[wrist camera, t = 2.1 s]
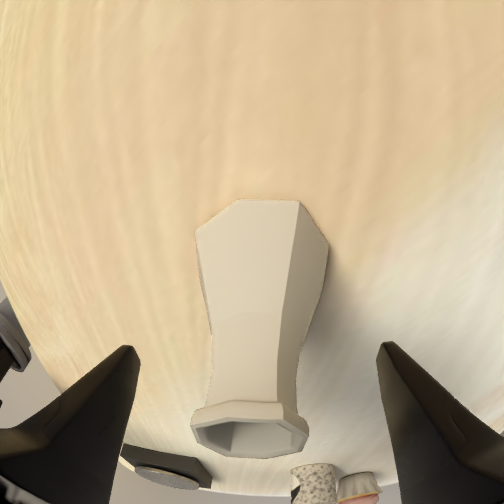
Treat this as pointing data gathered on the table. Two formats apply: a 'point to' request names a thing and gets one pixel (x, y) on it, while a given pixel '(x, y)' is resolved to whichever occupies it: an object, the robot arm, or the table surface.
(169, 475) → the pan
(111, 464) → the robot arm
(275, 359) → the flask
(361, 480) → the cupcake
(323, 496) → the mug
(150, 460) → the scale
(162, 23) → the table surface
